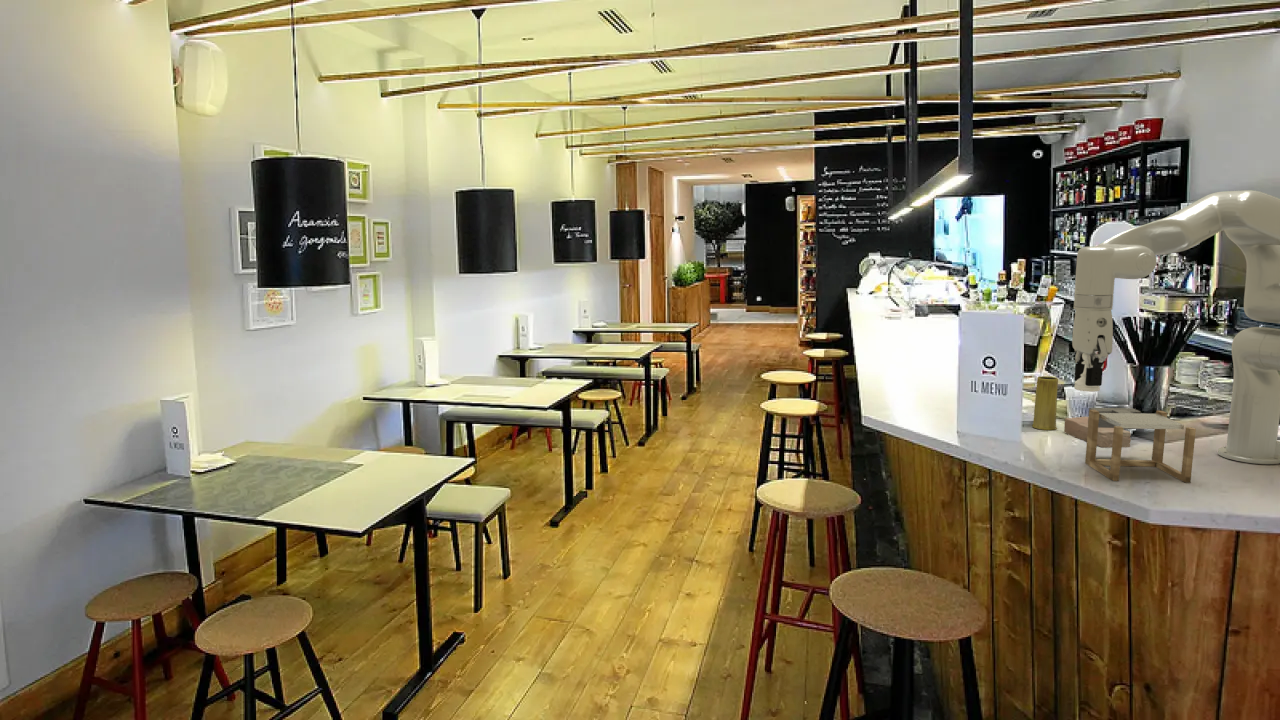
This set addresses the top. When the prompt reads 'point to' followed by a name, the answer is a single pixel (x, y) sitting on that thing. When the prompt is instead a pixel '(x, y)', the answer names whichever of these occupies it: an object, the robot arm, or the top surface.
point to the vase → (1045, 403)
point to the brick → (1105, 435)
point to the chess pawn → (1081, 381)
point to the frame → (1155, 462)
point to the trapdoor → (1133, 419)
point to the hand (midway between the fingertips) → (1087, 382)
